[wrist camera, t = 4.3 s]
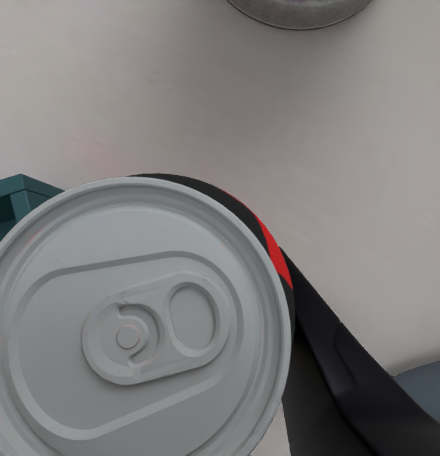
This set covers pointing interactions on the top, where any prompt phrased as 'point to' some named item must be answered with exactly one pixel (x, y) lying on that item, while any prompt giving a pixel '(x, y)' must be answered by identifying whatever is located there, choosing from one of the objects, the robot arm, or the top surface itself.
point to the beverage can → (141, 323)
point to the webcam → (299, 11)
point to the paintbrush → (423, 387)
